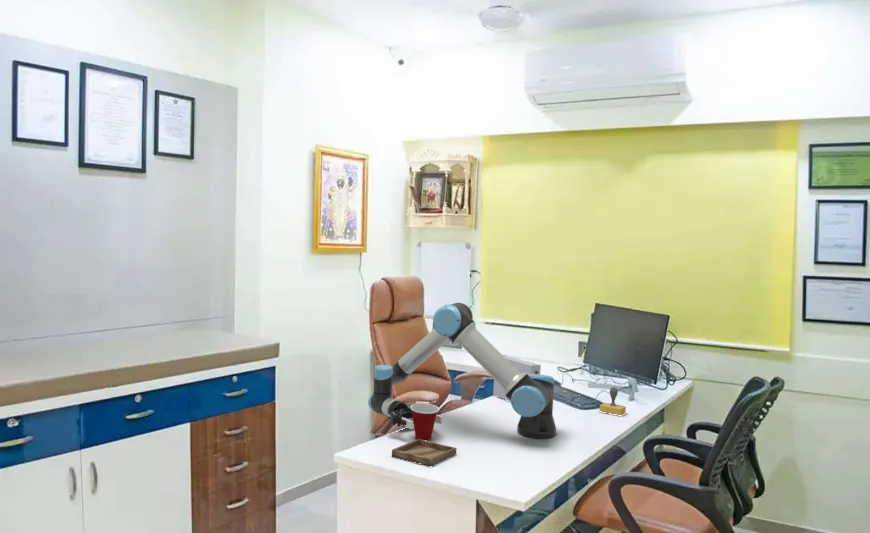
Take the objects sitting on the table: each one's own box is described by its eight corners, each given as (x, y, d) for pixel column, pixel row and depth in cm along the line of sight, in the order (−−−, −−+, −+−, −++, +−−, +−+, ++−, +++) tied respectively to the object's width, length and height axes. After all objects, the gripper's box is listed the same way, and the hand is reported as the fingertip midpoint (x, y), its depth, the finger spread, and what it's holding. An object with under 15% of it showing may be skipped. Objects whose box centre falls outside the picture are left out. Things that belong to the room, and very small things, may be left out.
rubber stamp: (625, 414, 294) (627, 387, 294) (620, 417, 289) (622, 390, 289) (604, 410, 300) (605, 384, 299) (599, 412, 295) (600, 386, 295)
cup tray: (456, 454, 229) (456, 447, 229) (431, 467, 216) (431, 459, 216) (418, 445, 238) (418, 438, 238) (391, 456, 224) (391, 449, 224)
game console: (502, 395, 321) (504, 354, 321) (539, 408, 298) (541, 364, 297) (493, 396, 318) (494, 355, 318) (529, 409, 295) (531, 365, 294)
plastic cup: (416, 444, 239) (418, 411, 238) (404, 436, 248) (405, 404, 248) (443, 441, 244) (444, 409, 243) (430, 433, 253) (431, 402, 253)
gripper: (420, 415, 269) (453, 428, 252) (368, 423, 254) (398, 438, 237) (421, 396, 268) (453, 408, 251) (368, 404, 253) (399, 417, 236)
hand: (427, 422), depth 244 cm, fingers open, 13 cm apart
